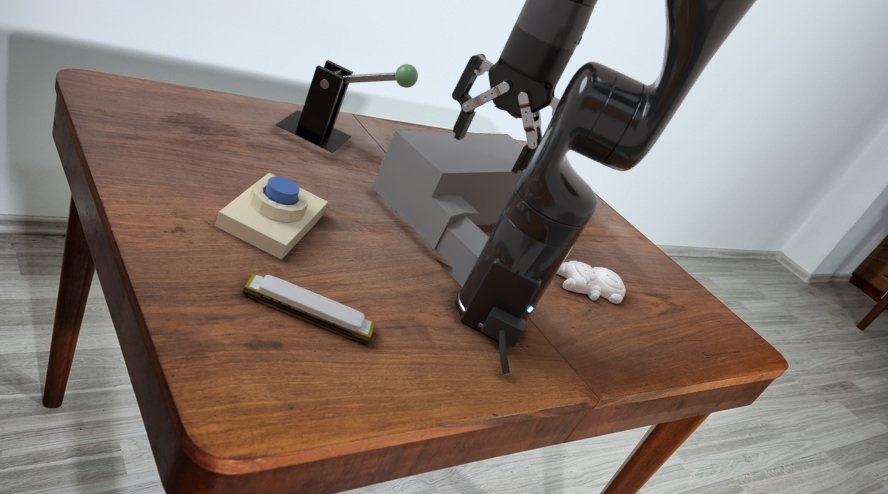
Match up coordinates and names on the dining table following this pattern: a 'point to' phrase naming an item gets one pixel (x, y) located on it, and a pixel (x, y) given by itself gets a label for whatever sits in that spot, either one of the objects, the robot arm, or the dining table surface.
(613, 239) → the dining table surface
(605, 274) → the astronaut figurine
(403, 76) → the green lever
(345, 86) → the lever bracket
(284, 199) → the blue button
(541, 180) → the robot arm
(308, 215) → the switch box
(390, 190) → the gray stepped block
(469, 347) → the dining table surface
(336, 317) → the harmonica
